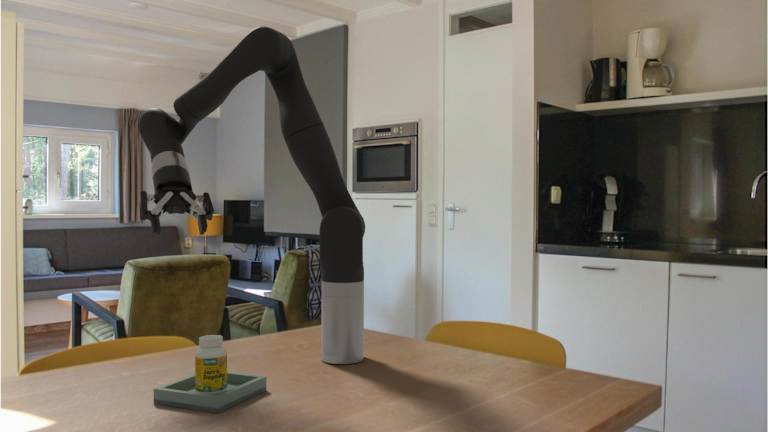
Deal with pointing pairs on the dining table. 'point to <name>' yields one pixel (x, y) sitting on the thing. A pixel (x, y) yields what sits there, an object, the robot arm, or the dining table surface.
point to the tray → (186, 396)
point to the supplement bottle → (211, 366)
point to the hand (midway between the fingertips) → (180, 232)
